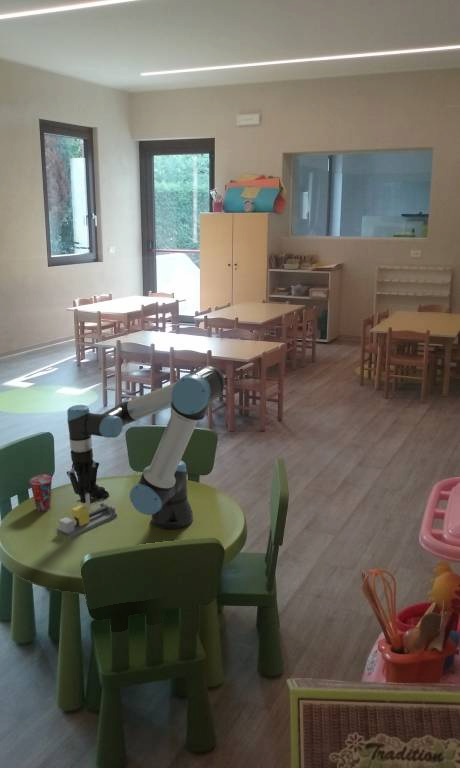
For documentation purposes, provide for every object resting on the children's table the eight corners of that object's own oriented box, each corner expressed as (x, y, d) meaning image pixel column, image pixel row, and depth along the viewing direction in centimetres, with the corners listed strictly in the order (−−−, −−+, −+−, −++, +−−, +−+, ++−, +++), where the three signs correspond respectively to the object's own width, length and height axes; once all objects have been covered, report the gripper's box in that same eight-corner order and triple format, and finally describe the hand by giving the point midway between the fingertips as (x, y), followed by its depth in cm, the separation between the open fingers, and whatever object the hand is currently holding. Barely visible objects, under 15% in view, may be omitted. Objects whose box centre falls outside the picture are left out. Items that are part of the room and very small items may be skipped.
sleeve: (82, 518, 252) (80, 504, 250) (89, 522, 249) (88, 508, 248) (73, 522, 249) (71, 508, 247) (80, 526, 246) (79, 512, 245)
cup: (58, 509, 263) (55, 480, 260) (36, 515, 259) (33, 485, 255) (49, 500, 271) (46, 472, 268) (28, 506, 266) (25, 477, 263)
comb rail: (103, 510, 262) (102, 498, 260) (117, 516, 256) (116, 504, 255) (57, 531, 246) (55, 518, 245) (70, 538, 241) (69, 525, 240)
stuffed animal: (107, 485, 281) (109, 479, 270) (109, 509, 278) (111, 504, 267) (77, 489, 278) (78, 483, 267) (80, 513, 275) (80, 508, 264)
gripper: (89, 441, 250) (94, 500, 257) (59, 451, 241) (65, 513, 247) (102, 445, 246) (107, 506, 252) (72, 456, 236) (78, 519, 243)
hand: (86, 509), depth 250 cm, fingers closed
